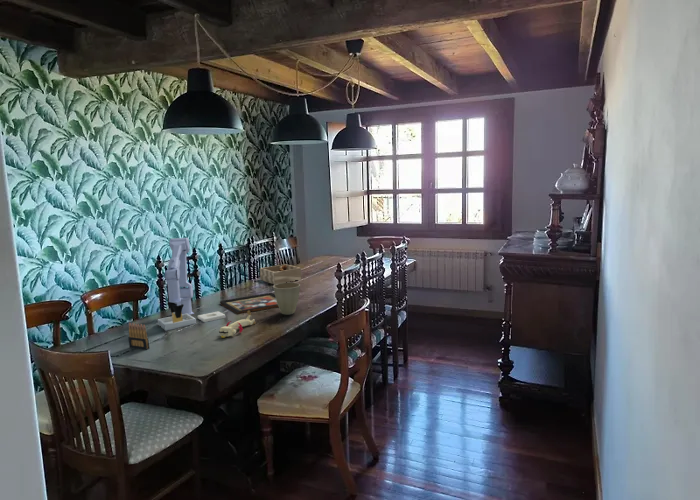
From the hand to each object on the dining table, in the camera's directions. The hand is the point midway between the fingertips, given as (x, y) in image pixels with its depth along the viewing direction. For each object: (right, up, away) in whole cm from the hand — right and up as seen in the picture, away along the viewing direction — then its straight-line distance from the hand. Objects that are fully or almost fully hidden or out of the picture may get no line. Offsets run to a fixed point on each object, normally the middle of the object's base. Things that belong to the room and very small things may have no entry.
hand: (176, 316), depth 256 cm
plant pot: (+58, 0, +15) cm, 60 cm away
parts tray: (0, -5, +1) cm, 5 cm away
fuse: (0, -4, +1) cm, 4 cm away
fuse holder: (+16, -3, +9) cm, 19 cm away
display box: (+41, +13, +103) cm, 112 cm away
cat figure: (+36, -6, -14) cm, 39 cm away
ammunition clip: (-5, -10, -34) cm, 36 cm away
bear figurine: (+42, +12, +100) cm, 109 cm away
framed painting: (+35, +1, +37) cm, 51 cm away
